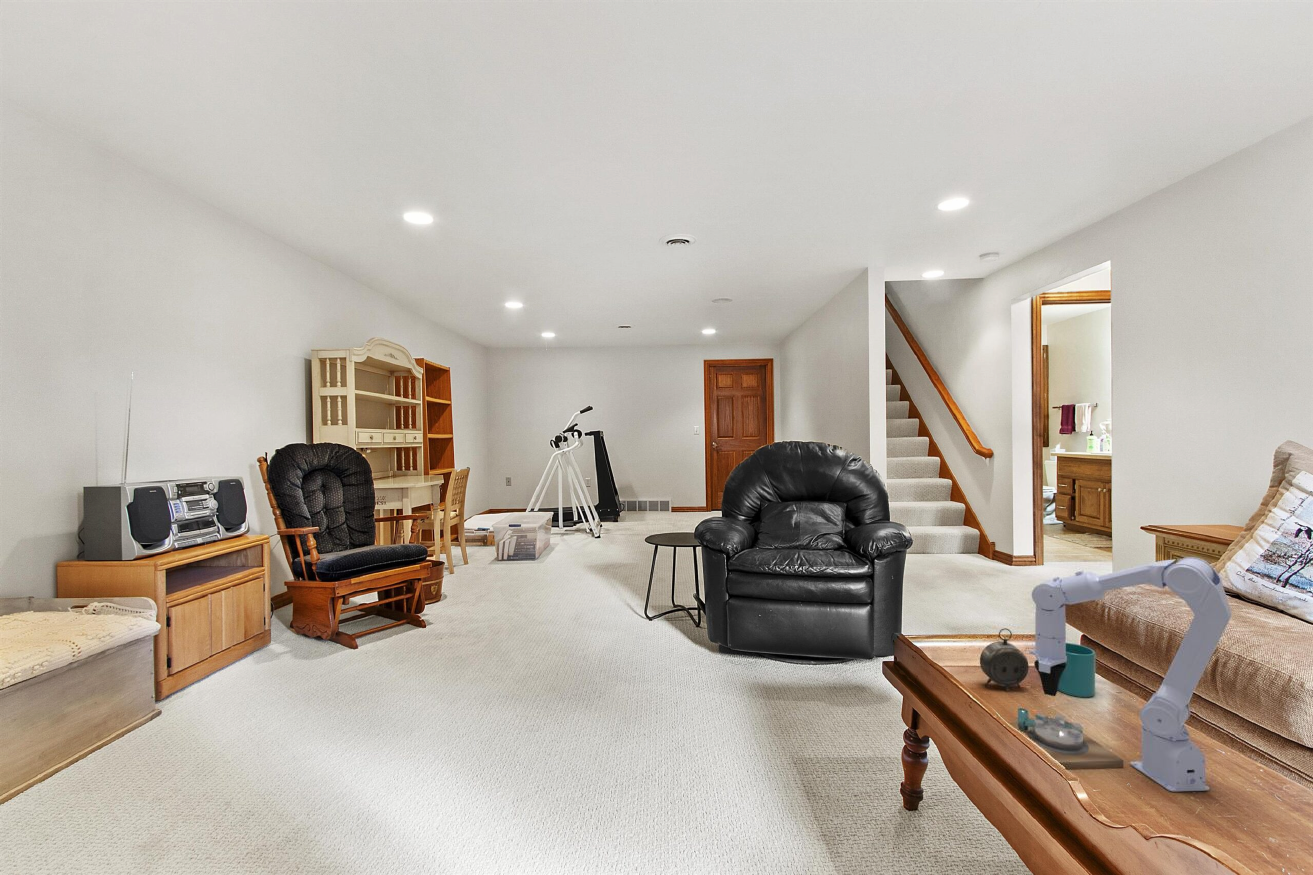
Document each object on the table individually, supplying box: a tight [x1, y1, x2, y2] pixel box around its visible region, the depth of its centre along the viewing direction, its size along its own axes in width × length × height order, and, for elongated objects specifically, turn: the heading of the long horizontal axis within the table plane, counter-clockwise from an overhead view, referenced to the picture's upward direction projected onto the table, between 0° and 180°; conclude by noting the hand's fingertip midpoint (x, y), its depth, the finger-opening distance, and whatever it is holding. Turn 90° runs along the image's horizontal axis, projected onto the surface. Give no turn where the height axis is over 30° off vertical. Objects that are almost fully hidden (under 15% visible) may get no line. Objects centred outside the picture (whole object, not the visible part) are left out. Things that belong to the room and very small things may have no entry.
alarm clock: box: [979, 627, 1030, 693], centre depth 157 cm, size 11×5×16 cm, turn 84°
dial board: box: [1009, 722, 1124, 770], centre depth 128 cm, size 16×16×2 cm
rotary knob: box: [1016, 707, 1084, 750], centre depth 129 cm, size 12×9×4 cm
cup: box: [1057, 642, 1096, 698], centre depth 156 cm, size 9×12×11 cm
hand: (1050, 694), depth 133 cm, fingers closed
